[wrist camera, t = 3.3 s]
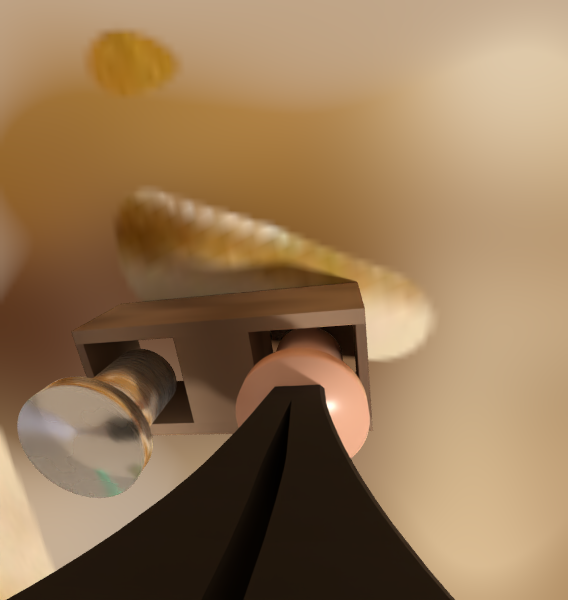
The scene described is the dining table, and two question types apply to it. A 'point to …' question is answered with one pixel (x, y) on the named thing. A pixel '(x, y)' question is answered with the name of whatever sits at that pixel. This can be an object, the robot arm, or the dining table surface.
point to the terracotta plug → (311, 382)
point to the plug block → (219, 344)
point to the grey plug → (98, 424)
